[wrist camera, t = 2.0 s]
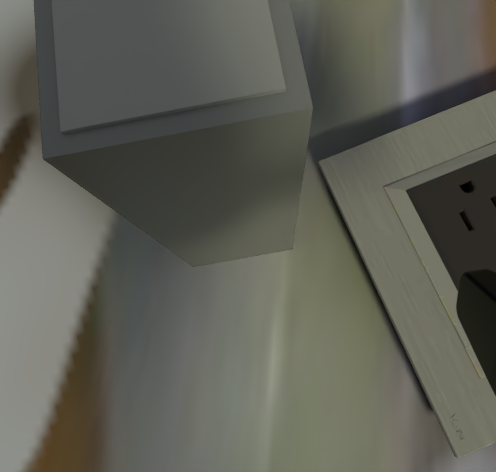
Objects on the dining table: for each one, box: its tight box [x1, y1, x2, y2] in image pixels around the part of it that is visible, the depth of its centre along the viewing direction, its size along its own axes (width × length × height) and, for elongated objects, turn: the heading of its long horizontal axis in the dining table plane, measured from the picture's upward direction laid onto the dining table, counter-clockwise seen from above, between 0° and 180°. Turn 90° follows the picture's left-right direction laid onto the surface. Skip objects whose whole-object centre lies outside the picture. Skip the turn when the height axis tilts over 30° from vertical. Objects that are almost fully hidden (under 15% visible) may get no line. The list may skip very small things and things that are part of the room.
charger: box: [34, 0, 313, 267], centre depth 14 cm, size 4×5×13 cm
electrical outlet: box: [318, 90, 496, 458], centre depth 18 cm, size 13×10×2 cm
